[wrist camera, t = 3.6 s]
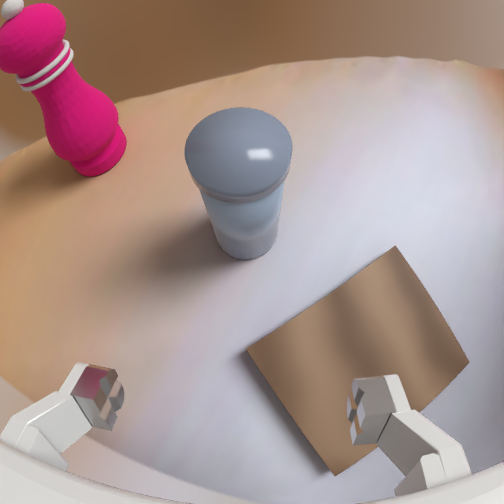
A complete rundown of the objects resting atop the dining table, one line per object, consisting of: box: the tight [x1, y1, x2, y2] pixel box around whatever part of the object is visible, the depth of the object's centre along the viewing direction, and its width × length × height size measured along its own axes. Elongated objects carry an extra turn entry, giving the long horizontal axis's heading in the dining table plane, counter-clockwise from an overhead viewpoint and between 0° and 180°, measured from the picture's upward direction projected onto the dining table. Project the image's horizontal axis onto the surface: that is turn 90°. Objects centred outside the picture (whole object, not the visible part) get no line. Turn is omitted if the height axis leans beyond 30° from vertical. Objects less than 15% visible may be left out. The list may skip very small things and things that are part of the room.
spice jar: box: [185, 108, 292, 260], centre depth 20 cm, size 5×5×11 cm
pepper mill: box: [0, 0, 126, 176], centre depth 20 cm, size 7×7×20 cm
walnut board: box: [246, 246, 469, 476], centre depth 21 cm, size 14×12×2 cm
